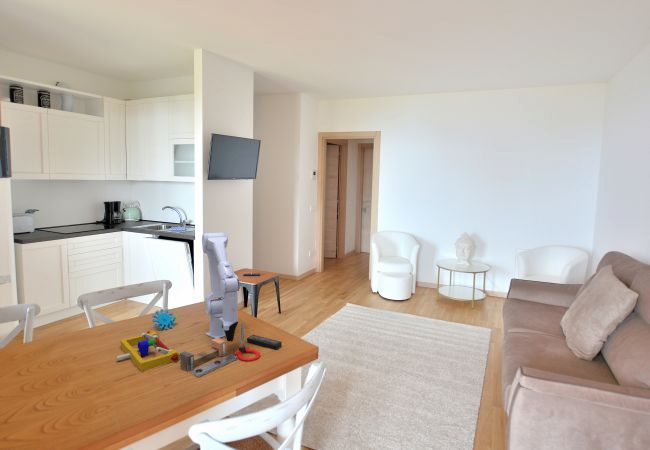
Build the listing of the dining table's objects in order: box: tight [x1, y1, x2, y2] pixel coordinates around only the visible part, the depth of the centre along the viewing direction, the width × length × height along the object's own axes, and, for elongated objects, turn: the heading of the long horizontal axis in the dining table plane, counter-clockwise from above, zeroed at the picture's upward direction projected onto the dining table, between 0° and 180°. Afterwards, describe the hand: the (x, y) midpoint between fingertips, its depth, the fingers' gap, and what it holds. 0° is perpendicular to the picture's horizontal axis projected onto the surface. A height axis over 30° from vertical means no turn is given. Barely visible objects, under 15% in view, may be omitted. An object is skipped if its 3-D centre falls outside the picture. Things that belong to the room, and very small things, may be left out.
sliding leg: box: [210, 338, 227, 358], centre depth 152 cm, size 3×6×5 cm, turn 54°
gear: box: [152, 308, 178, 331], centre depth 178 cm, size 11×6×10 cm
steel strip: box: [191, 353, 238, 378], centre depth 143 cm, size 17×4×1 cm, turn 144°
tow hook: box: [233, 321, 261, 363], centre depth 150 cm, size 8×13×9 cm
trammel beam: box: [179, 348, 219, 372], centre depth 146 cm, size 17×6×5 cm, turn 144°
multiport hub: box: [246, 334, 282, 351], centre depth 162 cm, size 4×14×2 cm, turn 64°
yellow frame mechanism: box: [116, 330, 180, 372], centre depth 151 cm, size 18×6×30 cm
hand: (230, 340), depth 157 cm, fingers closed
